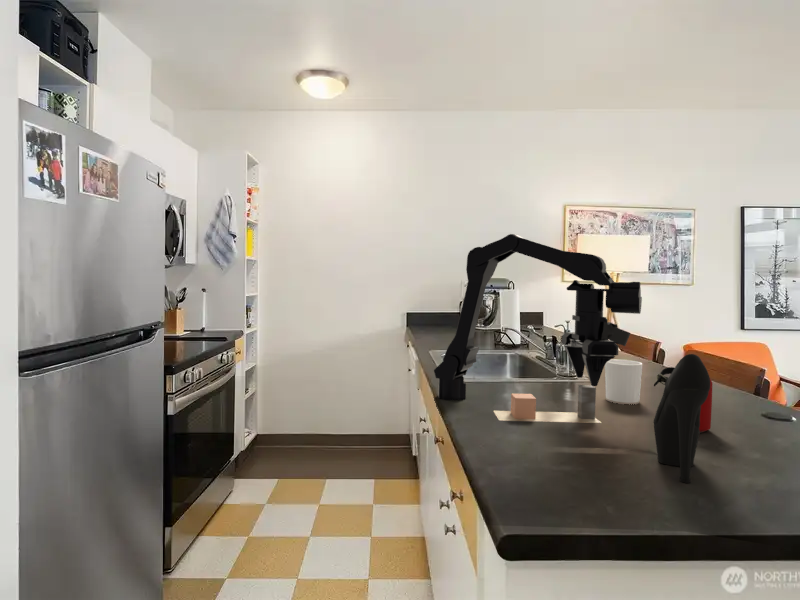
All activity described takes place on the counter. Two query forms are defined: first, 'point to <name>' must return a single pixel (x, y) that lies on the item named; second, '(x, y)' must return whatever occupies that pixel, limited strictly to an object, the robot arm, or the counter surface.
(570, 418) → the strip
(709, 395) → the beverage can
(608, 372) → the mug
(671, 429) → the high-heeled shoe
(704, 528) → the counter surface
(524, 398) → the block
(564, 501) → the counter surface
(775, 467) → the counter surface
